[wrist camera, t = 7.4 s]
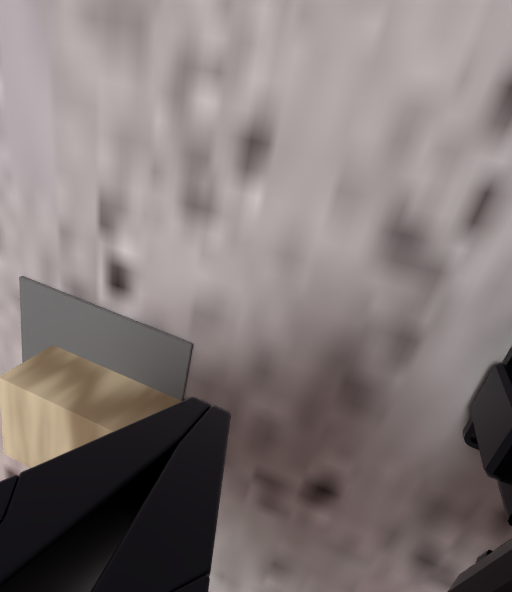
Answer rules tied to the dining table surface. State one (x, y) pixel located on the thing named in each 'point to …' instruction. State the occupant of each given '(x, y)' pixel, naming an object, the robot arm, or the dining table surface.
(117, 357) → the placemat
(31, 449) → the oak block
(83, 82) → the dining table surface
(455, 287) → the dining table surface
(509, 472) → the robot arm
